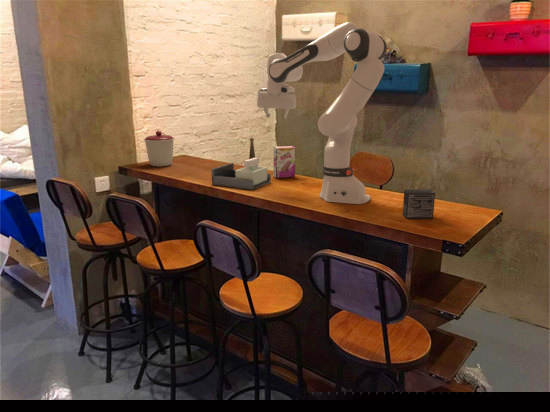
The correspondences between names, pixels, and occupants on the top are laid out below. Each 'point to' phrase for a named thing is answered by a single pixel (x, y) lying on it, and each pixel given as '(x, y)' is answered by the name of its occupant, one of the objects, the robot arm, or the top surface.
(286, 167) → the candy bar box
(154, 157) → the canister
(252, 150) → the eiffel tower
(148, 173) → the top surface
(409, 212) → the small box
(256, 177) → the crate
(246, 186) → the bay
